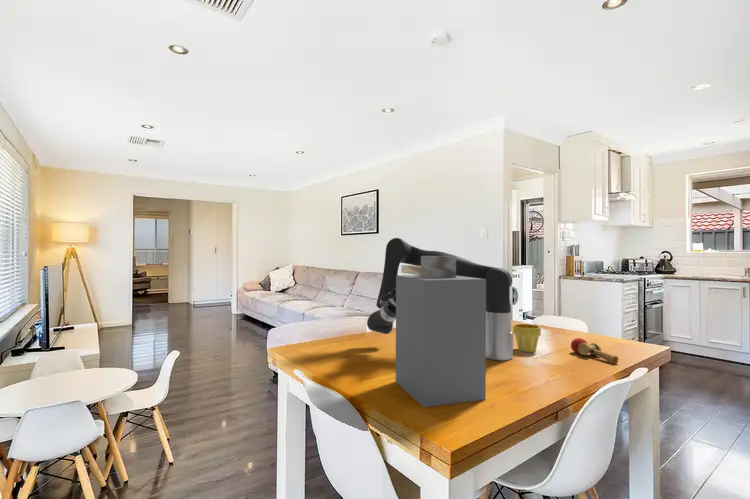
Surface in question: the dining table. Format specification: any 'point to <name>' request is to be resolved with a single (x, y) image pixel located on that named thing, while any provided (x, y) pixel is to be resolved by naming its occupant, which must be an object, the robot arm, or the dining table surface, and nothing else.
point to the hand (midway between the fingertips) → (407, 290)
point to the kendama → (591, 350)
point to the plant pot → (527, 336)
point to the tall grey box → (441, 338)
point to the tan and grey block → (433, 267)
